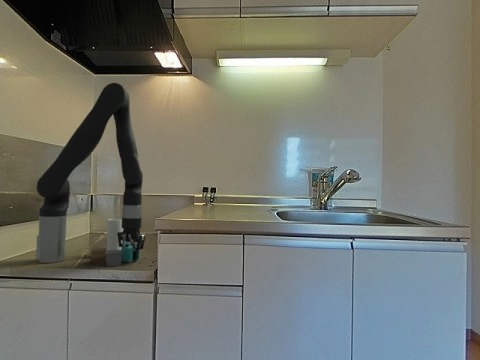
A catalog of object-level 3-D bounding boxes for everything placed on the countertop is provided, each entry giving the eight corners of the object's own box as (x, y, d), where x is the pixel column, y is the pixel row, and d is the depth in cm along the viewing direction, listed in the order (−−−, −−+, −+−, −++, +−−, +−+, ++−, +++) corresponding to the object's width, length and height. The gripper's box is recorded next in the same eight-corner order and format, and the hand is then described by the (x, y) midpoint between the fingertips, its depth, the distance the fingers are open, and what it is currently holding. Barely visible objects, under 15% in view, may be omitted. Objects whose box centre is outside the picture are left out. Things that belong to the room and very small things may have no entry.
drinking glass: (104, 256, 138) (105, 220, 138) (107, 253, 145) (108, 218, 145) (122, 256, 140) (123, 220, 140) (123, 253, 146) (124, 218, 146)
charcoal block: (120, 266, 124) (121, 252, 124) (106, 266, 123) (106, 253, 123) (120, 263, 129) (121, 249, 129) (106, 263, 127) (107, 250, 127)
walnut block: (105, 263, 127) (105, 250, 127) (91, 264, 126) (91, 250, 126) (105, 260, 132) (106, 247, 132) (91, 261, 130) (92, 248, 130)
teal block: (129, 262, 130) (130, 249, 130) (120, 260, 133) (121, 247, 133) (139, 260, 134) (140, 247, 134) (131, 258, 137) (131, 246, 137)
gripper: (111, 215, 134) (110, 258, 134) (137, 218, 127) (135, 263, 126) (126, 214, 140) (125, 255, 140) (151, 217, 133) (150, 260, 133)
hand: (130, 259), depth 133 cm, fingers closed on teal block, 5 cm apart
